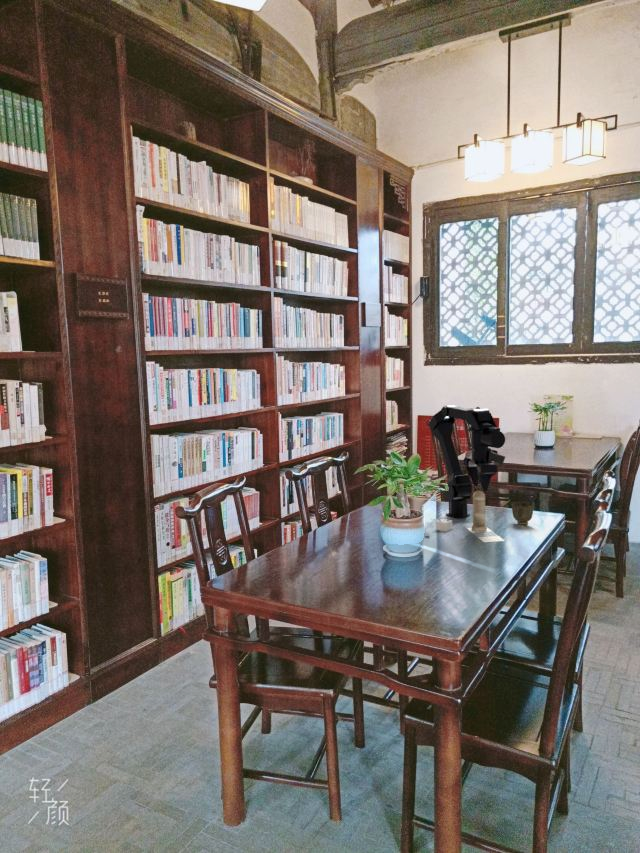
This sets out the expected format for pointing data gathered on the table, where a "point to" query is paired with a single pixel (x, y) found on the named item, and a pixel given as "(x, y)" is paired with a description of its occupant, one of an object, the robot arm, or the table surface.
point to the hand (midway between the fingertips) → (480, 488)
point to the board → (484, 534)
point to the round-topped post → (479, 512)
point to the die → (444, 525)
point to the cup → (522, 512)
